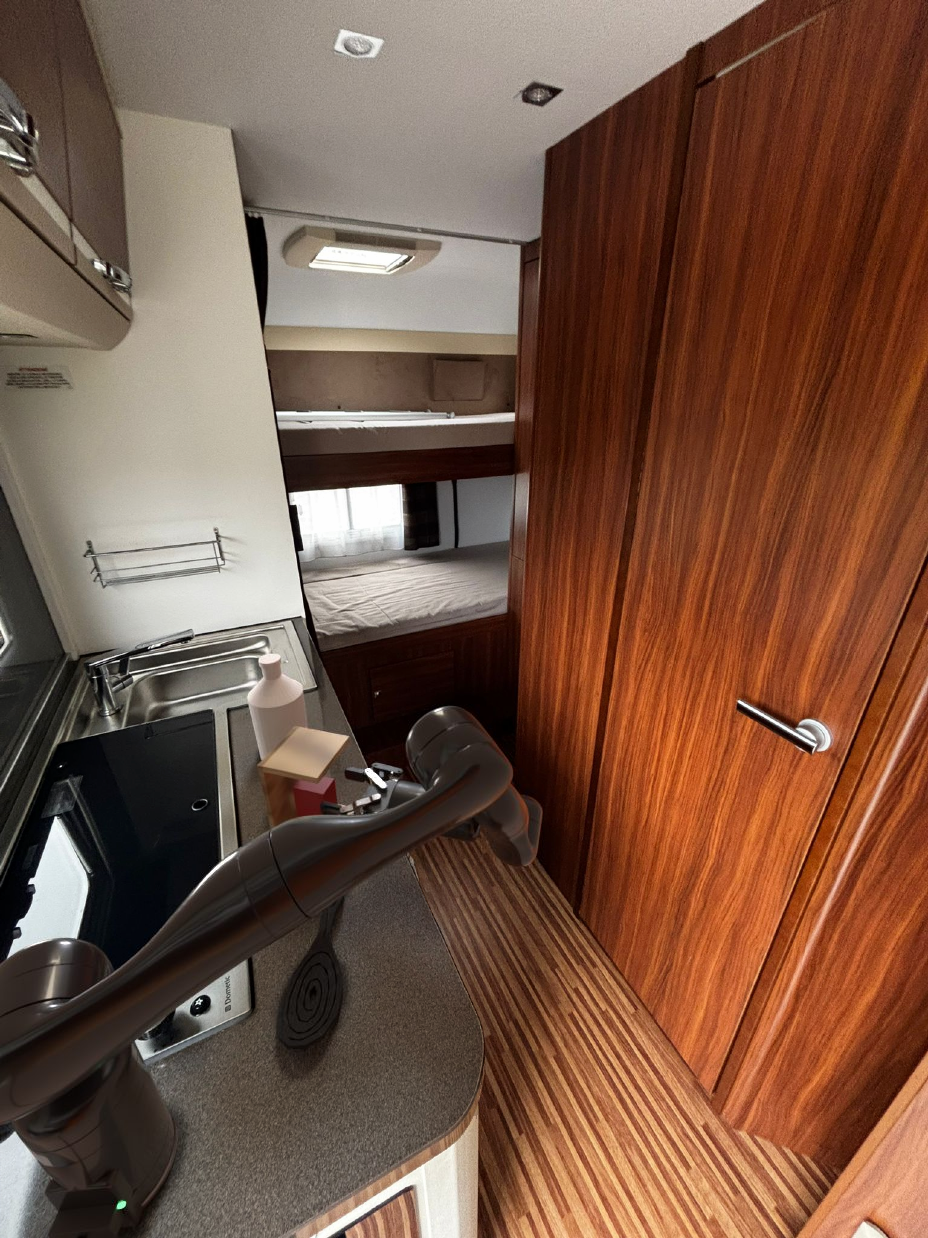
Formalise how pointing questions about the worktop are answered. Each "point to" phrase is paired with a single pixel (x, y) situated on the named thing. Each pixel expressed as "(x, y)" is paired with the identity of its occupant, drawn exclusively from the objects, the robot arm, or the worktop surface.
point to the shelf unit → (296, 768)
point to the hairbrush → (310, 979)
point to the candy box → (313, 796)
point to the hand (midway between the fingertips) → (333, 789)
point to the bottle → (275, 705)
